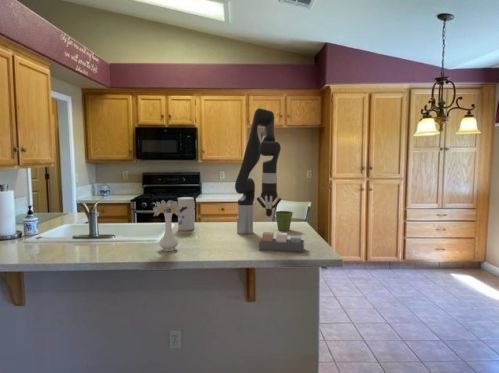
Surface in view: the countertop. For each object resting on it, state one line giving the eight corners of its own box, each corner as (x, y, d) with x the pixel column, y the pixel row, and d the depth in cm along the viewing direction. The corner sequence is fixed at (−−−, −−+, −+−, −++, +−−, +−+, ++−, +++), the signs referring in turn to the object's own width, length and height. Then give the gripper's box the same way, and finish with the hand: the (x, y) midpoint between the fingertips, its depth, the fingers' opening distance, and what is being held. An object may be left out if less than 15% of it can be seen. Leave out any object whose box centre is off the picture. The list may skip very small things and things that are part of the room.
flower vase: (184, 244, 191) (183, 197, 189) (177, 254, 173) (176, 202, 170) (160, 244, 191) (159, 197, 189) (150, 254, 173) (149, 202, 170)
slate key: (290, 247, 178) (290, 238, 177) (291, 244, 183) (291, 235, 182) (300, 247, 177) (300, 238, 176) (301, 245, 182) (301, 236, 181)
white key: (276, 243, 179) (276, 234, 179) (277, 241, 184) (277, 232, 184) (286, 244, 178) (286, 235, 178) (287, 241, 183) (287, 233, 183)
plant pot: (270, 229, 230) (271, 211, 229) (286, 227, 235) (287, 210, 234) (280, 232, 219) (280, 214, 218) (296, 231, 224) (297, 213, 223)
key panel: (259, 250, 180) (259, 241, 179) (261, 246, 187) (261, 237, 187) (303, 252, 175) (303, 243, 175) (304, 248, 183) (304, 239, 183)
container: (175, 230, 226) (174, 198, 224) (182, 227, 236) (182, 196, 234) (189, 231, 223) (189, 199, 221) (196, 228, 233) (196, 197, 231)
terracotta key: (262, 242, 180) (262, 234, 180) (263, 240, 185) (263, 231, 185) (272, 243, 179) (272, 234, 179) (273, 241, 184) (273, 232, 184)
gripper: (283, 181, 182) (282, 215, 184) (257, 181, 185) (257, 214, 186) (281, 182, 175) (281, 218, 176) (255, 182, 177) (254, 217, 179)
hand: (268, 216), depth 181 cm, fingers closed
